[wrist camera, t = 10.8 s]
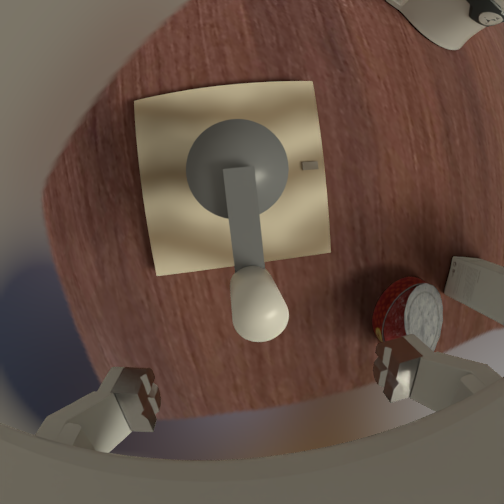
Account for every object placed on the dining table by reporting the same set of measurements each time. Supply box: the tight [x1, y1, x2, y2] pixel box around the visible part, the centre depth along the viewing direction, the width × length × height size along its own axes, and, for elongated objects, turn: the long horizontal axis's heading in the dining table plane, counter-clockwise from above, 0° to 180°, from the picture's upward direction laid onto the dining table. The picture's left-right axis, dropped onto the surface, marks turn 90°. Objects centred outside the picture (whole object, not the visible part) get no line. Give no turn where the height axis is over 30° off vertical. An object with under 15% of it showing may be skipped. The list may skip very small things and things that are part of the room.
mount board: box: [134, 81, 331, 276], centre depth 25 cm, size 18×18×7 cm
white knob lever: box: [186, 119, 289, 342], centre depth 18 cm, size 7×13×8 cm, turn 6°
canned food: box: [372, 277, 443, 351], centre depth 31 cm, size 11×10×10 cm
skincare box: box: [444, 256, 504, 325], centre depth 27 cm, size 8×6×15 cm
